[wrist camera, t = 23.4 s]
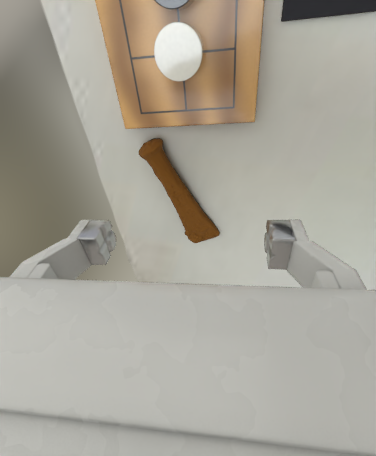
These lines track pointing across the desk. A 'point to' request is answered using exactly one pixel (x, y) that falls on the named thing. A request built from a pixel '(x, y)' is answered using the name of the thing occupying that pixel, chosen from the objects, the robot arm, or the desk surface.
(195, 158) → the desk surface
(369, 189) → the desk surface
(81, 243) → the robot arm
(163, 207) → the desk surface
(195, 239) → the primitive tool
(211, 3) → the go board
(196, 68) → the white stone
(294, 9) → the stone mat
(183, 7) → the black stone
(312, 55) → the desk surface
